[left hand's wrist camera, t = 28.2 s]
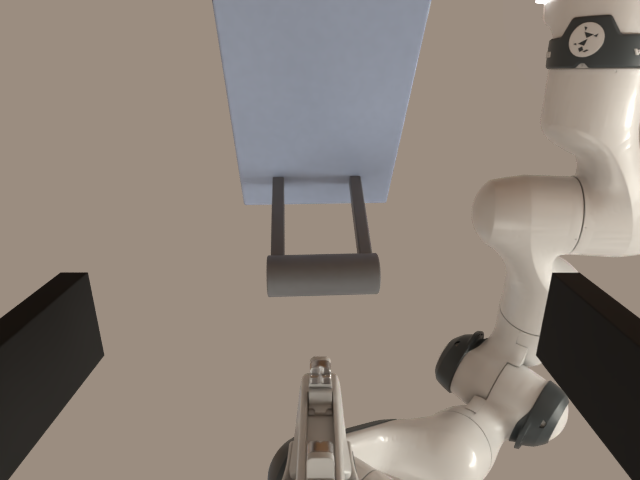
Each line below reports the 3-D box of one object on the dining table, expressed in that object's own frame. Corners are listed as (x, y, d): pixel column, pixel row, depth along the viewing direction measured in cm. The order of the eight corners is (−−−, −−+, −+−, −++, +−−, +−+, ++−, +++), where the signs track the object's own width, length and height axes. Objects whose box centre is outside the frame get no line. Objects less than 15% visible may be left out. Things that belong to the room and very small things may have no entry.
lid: (384, 193, 30) (406, 310, 25) (244, 195, 29) (236, 315, 24) (433, -37, 19) (494, 87, 13) (209, -41, 18) (178, 88, 13)
